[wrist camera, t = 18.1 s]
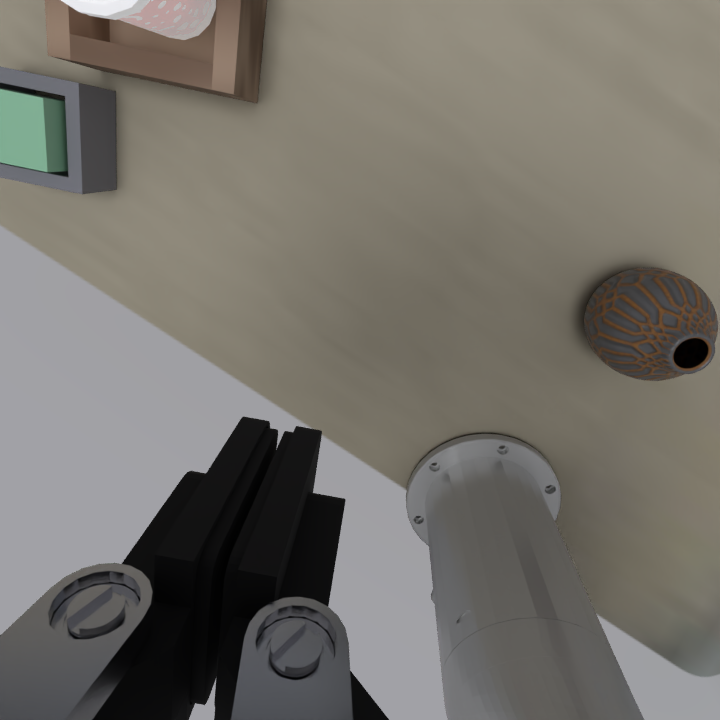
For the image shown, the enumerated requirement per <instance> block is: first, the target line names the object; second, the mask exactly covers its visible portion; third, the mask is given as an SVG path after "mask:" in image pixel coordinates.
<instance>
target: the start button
mask: <svg viewBox="0 0 720 720" xmlns="http://www.w3.org/2000/svg"><path fill="white" fill-rule="evenodd" d="M0 163H5V164H10V165H15V166H20V167H25V168H29V169H34V170H39V171H44V172H60V171H68V153H67V130H66V108H65V100H62V99H57V98H53V97H48V96H43V95H38V94H33V93H27V92H21V91H15V90H9V89H3V88H0Z"/></svg>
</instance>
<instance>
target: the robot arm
mask: <svg viewBox="0 0 720 720" xmlns="http://www.w3.org/2000/svg"><path fill="white" fill-rule="evenodd" d="M321 434H322V431H320V430H315V429H309V428H304V427H298V426H296V428H295V430H294V432H287V431H285V432H284V434H283V436H282V439H281V441H280V443H279V445H278V448H277V450H276V447H277V438H278V430H276V429H270V423H269V421H265V420H259V419H254V418H248V417H242V419H241V420H240V421H239V423H238V425H237V426H236V428H235V430H234V431H233V432H232V434H231V436H230V437H229V439H228V440H227V442H226V443H225V445H224V446H223V448H222V450H221V451H220V453H219V454H218V456H217V458H216V459H215V461H214V462H213V464H212V466H211V467H210V468H209V470H208V472H207V473H206V474H205V473H200V472H194V471H189V472H187V473H186V474H185V475H184V477H183V478H182V480H181V481H180V482H179V484H178V485H177V487H176V488H175V490H174V491H173V492H172V494H171V495H170V497H169V498H168V499H167V501H166V502H165V503H164V505H163V506H162V508H161V509H160V510H159V512H158V513H157V515H156V516H155V518H154V519H153V520H152V522H151V523H150V525H149V526H148V527H147V529H146V530H145V532H144V533H143V535H142V536H141V537H140V539H139V540H138V542H137V543H136V544H135V546H134V547H133V549H132V550H131V551H130V553H129V554H128V556H127V557H126V559H125V560H124V562H123V563H122V564H118V563H108V564H98V565H94V566H90V567H86V568H83V569H80V570H79V571H76V572H74V573H72V574H70V575H68V576H66V577H64V578H63V579H62V580H61V581H59V582H58V583H56V584H55V585H54V586H53V587H51V588H50V589H49V590H48V591H47V592H46V593H45V594H44V595H43V596H42V597H41V598H40V599H39V600H37V601H36V603H34V604H33V605H32V606H31V607H30V608H29V609H28V610H27V611H26V612H25V613H24V614H23V615H22V616H21V617H20V618H19V619H17V620H16V621H15V622H14V623H13V624H12V625H11V626H10V627H9V628H8V629H7V630H6V631H5V632H4V633H3V634H1V635H0V720H189V717H190V715H191V712H192V709H193V707H194V704H195V703H197V704H203V705H205V704H206V702H207V700H208V698H209V696H210V693H211V690H212V687H213V685H214V682H215V679H216V691H215V718H214V720H389V719H388V718H387V717H386V716H385V714H384V713H383V712H382V711H381V709H380V708H379V706H378V705H377V704H376V703H375V701H374V700H373V699H372V698H371V696H370V695H369V694H368V692H366V690H365V689H364V687H363V686H362V685H361V684H360V682H359V681H358V680H357V679H356V677H355V676H354V675H353V674H352V672H351V671H350V660H349V643H348V638H347V633H346V629H345V627H344V625H343V623H342V622H341V620H340V618H339V617H338V615H337V614H335V613H334V612H333V611H332V610H331V609H330V608H329V607H328V604H329V598H330V591H331V586H332V579H333V573H334V567H335V561H336V555H337V549H338V543H339V536H340V530H341V524H342V518H343V512H344V506H345V499H342V498H337V497H332V496H326V495H321V494H315V493H313V488H314V482H315V475H316V468H317V462H318V454H319V448H320V442H321ZM560 504H561V491H560V486H559V482H558V480H557V477H556V475H555V473H554V471H553V469H552V468H551V466H550V464H549V463H548V461H547V460H546V459H545V458H544V457H543V456H542V455H541V454H540V453H539V452H538V451H537V450H536V449H534V448H533V447H531V446H530V445H528V444H526V443H524V442H522V441H520V440H517V439H515V438H511V437H507V436H503V435H496V434H476V435H468V436H464V437H460V438H456V439H453V440H451V441H449V442H447V443H444V444H442V445H440V446H439V447H437V448H436V449H434V450H433V451H431V452H430V453H429V454H428V455H427V456H426V457H425V458H424V459H423V460H421V461H420V463H419V464H418V465H417V467H416V468H415V470H414V471H413V473H412V475H411V478H410V480H409V483H408V486H407V493H406V507H407V513H408V518H409V521H410V523H411V525H412V527H413V529H414V531H415V532H416V533H417V535H418V536H419V537H420V539H421V540H423V541H424V542H425V543H426V544H427V545H428V546H429V550H430V560H431V570H432V581H433V591H432V594H431V599H432V601H433V602H434V603H435V610H436V621H437V631H438V641H439V650H440V661H441V672H442V682H443V692H444V702H445V708H446V714H447V718H448V720H644V718H643V716H642V714H641V712H640V710H639V708H638V706H637V704H636V702H635V699H634V698H633V695H632V693H631V691H630V689H629V686H628V684H627V682H626V680H625V678H624V675H623V673H622V671H621V669H620V666H619V664H618V662H617V660H616V657H615V655H614V653H613V651H612V649H611V646H610V644H609V642H608V640H607V637H606V635H605V633H604V631H603V629H602V626H601V624H600V622H599V619H598V617H597V615H596V613H595V610H594V608H593V606H592V604H591V602H590V599H589V597H588V595H587V593H586V590H585V588H584V586H583V584H582V581H581V579H580V577H579V575H578V572H577V570H576V568H575V566H574V563H573V561H572V559H571V557H570V555H569V552H568V550H567V548H566V546H565V543H564V541H563V539H562V537H561V534H560V532H559V530H558V528H557V525H556V523H555V521H556V519H557V516H558V513H559V510H560ZM216 676H217V677H216Z"/></svg>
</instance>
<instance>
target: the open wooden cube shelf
mask: <svg viewBox="0 0 720 720" xmlns="http://www.w3.org/2000/svg"><path fill="white" fill-rule="evenodd" d="M266 5H267V0H216V9H215V12H214V14H213V17H212V19H211V22H210V24H209V25H208V26H207V27H206V29H205V30H204V31H203V32H202V33H201V34H200V35H199V36H195V37H192V38H189V39H186V40H181V39H175V38H169V37H166V36H163V35H161V34H158V33H155V32H152V31H149V30H146V29H144V28H141V27H138V26H135V25H132V24H130V23H127V22H124V21H121V20H118V19H117V20H113V19H106V18H100V17H94V16H89V15H87V14H83V13H80V12H78V11H77V10H75V9H74V8H72V7H70V6H69V5H67V4H66V3H64V2H63V1H61V0H45V12H46V29H47V47H48V56H52V57H55V58H59V59H62V60H66V61H69V62H73V63H76V64H80V65H83V66H87V67H90V68H94V69H97V70H101V71H106V72H111V73H116V74H120V75H125V76H130V77H135V78H139V79H144V80H149V81H154V82H159V83H163V84H168V85H173V86H178V87H182V88H187V89H192V90H197V91H201V92H206V93H211V94H216V95H221V96H225V97H230V98H235V99H240V100H244V101H249V102H254V103H257V100H258V90H259V79H260V68H261V58H262V47H263V37H264V26H265V16H266Z"/></svg>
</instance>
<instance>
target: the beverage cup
mask: <svg viewBox="0 0 720 720" xmlns="http://www.w3.org/2000/svg"><path fill="white" fill-rule="evenodd" d="M61 1H63V2H64V3H66V4H67V5H69V6H70V7H72V8H74V9H75V10H77V11H78V12H80V13H83V14H87V15H89V16H94V17H100V18H106V19H113V20H117V19H118V20H121V21H124V22H127V23H130V24H132V25H135V26H138V27H141V28H144V29H146V30H149V31H152V32H155V33H158V34H161V35H163V36H166V37H169V38H175V39H181V40H186V39H189V38H192V37H195V36H199V35H200V34H201V33H202V32H203V31H204V30H205V29H206V27H207V26H208V25H209V24H210V22H211V19H212V17H213V14H214V12H215V9H216V0H61Z"/></svg>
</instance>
